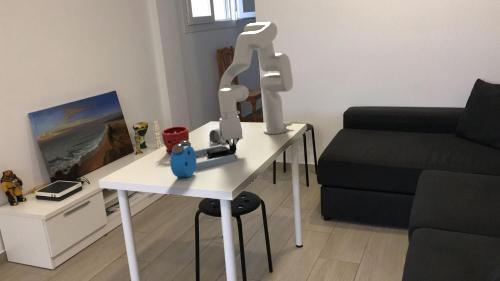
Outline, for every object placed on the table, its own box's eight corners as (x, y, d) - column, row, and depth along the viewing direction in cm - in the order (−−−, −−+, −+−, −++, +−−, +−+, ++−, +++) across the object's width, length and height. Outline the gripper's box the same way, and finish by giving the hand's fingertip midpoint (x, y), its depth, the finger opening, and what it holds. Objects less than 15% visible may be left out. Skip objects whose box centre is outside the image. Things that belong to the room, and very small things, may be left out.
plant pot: (159, 154, 227) (156, 131, 224) (180, 147, 236) (176, 125, 233) (175, 158, 218) (172, 134, 215) (196, 150, 227) (193, 127, 224)
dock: (222, 150, 223) (221, 144, 222) (235, 161, 205) (235, 154, 204) (185, 158, 217) (184, 152, 216) (196, 169, 199) (195, 163, 198)
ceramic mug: (230, 140, 238) (229, 126, 236) (220, 145, 232) (218, 130, 230) (216, 139, 245) (214, 125, 243) (205, 143, 239) (203, 129, 237)
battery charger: (207, 158, 215) (206, 150, 214) (226, 153, 218) (225, 146, 217) (216, 165, 203) (215, 156, 202) (235, 160, 206) (234, 152, 205)
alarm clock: (185, 170, 199) (181, 138, 195) (198, 170, 197) (194, 137, 193) (172, 181, 187) (167, 147, 183) (186, 182, 185) (180, 147, 181)
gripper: (241, 111, 215) (245, 147, 220) (211, 116, 210) (216, 153, 215) (246, 113, 208) (250, 151, 213) (216, 119, 203) (220, 157, 208)
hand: (233, 152), depth 214 cm, fingers closed
